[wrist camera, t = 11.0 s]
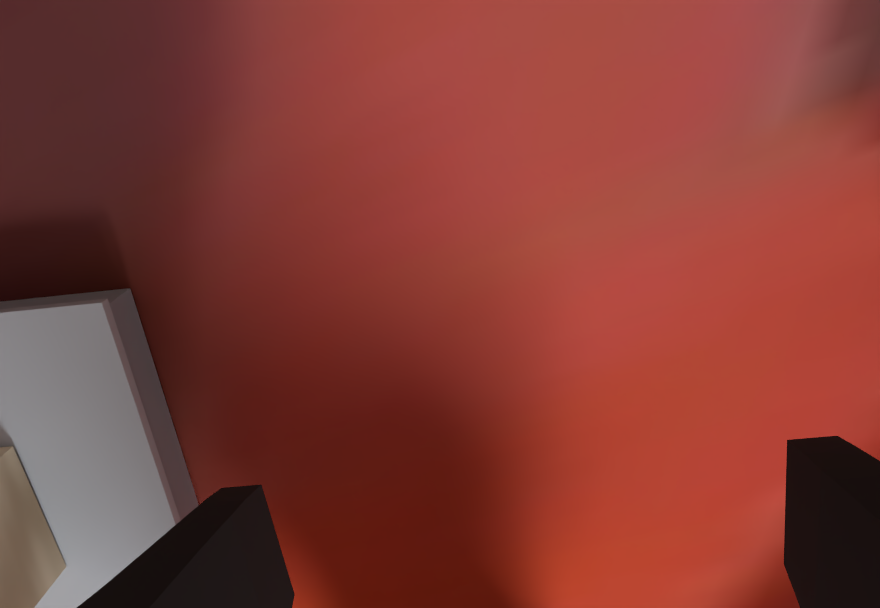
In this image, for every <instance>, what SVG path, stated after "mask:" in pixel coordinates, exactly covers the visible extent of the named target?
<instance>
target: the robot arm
mask: <svg viewBox="0 0 880 608" xmlns="http://www.w3.org/2000/svg"><path fill="white" fill-rule="evenodd" d="M784 565H785V568H786V571H787V573H788V576H789V579H790V581H791V584H792V587H793V589H794V592H795V595H796V597H797V600H798V603H799V605H800V608H880V461H879V460H877V459H875V458H874V457H872V456H871V455H869V454H867V453H866V452H864V451H862V450H861V449H859V448H857V447H856V446H854V445H852V444H851V443H849V442H847V441H845V440H844V439H842V438H840V437H838V436H830V437H818V438H806V439H794V440H787V469H786V506H785V543H784ZM293 599H294V591H293V588H292V585H291V581H290V578H289V575H288V572H287V568H286V565H285V562H284V558H283V555H282V552H281V548H280V545H279V542H278V538H277V535H276V532H275V529H274V525H273V522H272V519H271V515H270V512H269V509H268V505H267V502H266V499H265V495H264V492H263V489H262V485H252V486H240V487H229V488H221V489H220V490H218V491H217V492H216V493H214V494H213V495H211V496H210V497H209V498H208V499H206V500H205V501H204V502H202V503H201V504H200V505H199V506H198V507H196V508H195V509H194V510H193V511H191V512H190V513H189V514H188V515H187V516H186V517H184V518H183V519H182V520H181V521H180V522H178V523H177V524H176V525H175V526H174V527H173V528H171V529H170V530H169V531H168V532H167V533H166V534H164V535H163V536H162V537H161V538H160V539H159V540H157V541H156V542H155V543H154V544H153V545H152V546H150V547H149V548H148V549H147V550H146V551H144V552H143V553H142V554H141V555H140V556H139V557H137V558H136V559H135V560H134V561H133V562H131V563H130V564H129V565H128V566H127V567H126V568H124V569H123V570H122V571H121V572H120V573H118V574H117V575H116V576H115V577H114V578H113V579H111V580H110V581H109V582H108V583H107V584H105V585H104V586H103V587H102V588H101V589H99V590H98V591H97V592H96V593H94V594H93V595H92V596H91V597H89V598H88V599H87V600H86V601H84V602H83V603H82V604H81V605H79V606H78V607H77V608H292V604H293Z"/></svg>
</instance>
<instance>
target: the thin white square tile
mask: <svg viewBox="0 0 880 608" xmlns="http://www.w3.org/2000/svg"><path fill="white" fill-rule="evenodd" d="M10 446H13V448H14V450H15V452H16V455H17V457H18V459H19V461H20V463H21V466H22V468H23V470H24V472H25V475H26V477H27V479H28V481H29V484H30V486H31V488H32V490H33V493H34V495H35V497H36V499H37V502H38V504H39V506H40V508H41V511H42V513H43V515H44V517H45V520H46V522H47V524H48V526H49V529H50V531H51V533H52V535H53V538H54V540H55V542H56V544H57V547H58V549H59V551H60V553H61V555H62V558H63V560H64V562H65V564H66V568H65V569H64V570H63V572H62V573H61V574H60V575H59V577H58V578H57V579H56V581H55V582H54V583H53V584H52V586H51V587H50V588H49V589H48V591H47V592H46V593H45V595H44V596H43V597H42V598H41V600H40V601H39V602H38V604H37V605H36V606H35V607H34V608H77V607H78V606H79V605H81V604H82V603H83V602H84V601H86V600H87V599H88V598H89V597H91V596H92V595H93V594H94V593H96V592H97V591H98V590H99V589H101V588H102V587H103V586H104V585H105V584H107V583H108V582H109V581H110V580H111V579H113V578H114V577H115V576H116V575H117V574H118V573H120V572H121V571H122V570H123V569H124V568H126V567H127V566H128V565H129V564H130V563H131V562H133V561H134V560H135V559H136V558H137V557H139V556H140V555H141V554H142V553H143V552H144V551H146V550H147V549H148V548H149V547H150V546H152V545H153V544H154V543H155V542H156V541H157V540H159V539H160V538H161V537H162V536H163V535H164V534H166V533H167V532H168V531H169V530H170V529H171V528H173V527H174V526H175V525H176V524H177V523H178V522H180V521H181V520H182V519H183V518H184V517H186V516H187V515H188V514H189V513H190V512H191V511H193V510H194V509H195V508H196V507H198V506H199V504H198V501H197V498H196V495H195V492H194V488H193V485H192V482H191V479H190V476H189V473H188V469H187V466H186V463H185V460H184V457H183V454H182V450H181V447H180V444H179V441H178V438H177V435H176V431H175V428H174V425H173V422H172V419H171V416H170V413H169V409H168V406H167V403H166V400H165V397H164V394H163V390H162V387H161V384H160V381H159V378H158V375H157V371H156V368H155V365H154V362H153V359H152V356H151V352H150V349H149V346H148V343H147V340H146V337H145V333H144V330H143V327H142V324H141V321H140V318H139V314H138V311H137V308H136V305H135V302H134V299H133V296H132V292H131V289H130V288H127V289H118V290H108V291H98V292H89V293H79V294H70V295H60V296H50V297H41V298H31V299H21V300H12V301H2V302H0V447H10Z"/></svg>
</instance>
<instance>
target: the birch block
mask: <svg viewBox="0 0 880 608" xmlns="http://www.w3.org/2000/svg"><path fill="white" fill-rule="evenodd" d="M65 568H66V564H65V562H64V560H63V558H62V555H61V553H60V551H59V549H58V547H57V544H56V542H55V540H54V538H53V535H52V533H51V531H50V529H49V526H48V524H47V522H46V520H45V517H44V515H43V513H42V511H41V508H40V506H39V504H38V502H37V499H36V497H35V495H34V493H33V490H32V488H31V486H30V484H29V481H28V479H27V477H26V475H25V472H24V470H23V468H22V466H21V463H20V461H19V459H18V457H17V455H16V452H15V450H14V448H13V446H10V447H0V608H34V607H35V606H36V605H37V604H38V602H39V601H40V600H41V598H42V597H43V596H44V595H45V593H46V592H47V591H48V589H49V588H50V587H51V586H52V584H53V583H54V582H55V581H56V579H57V578H58V577H59V575H60V574H61V573H62V572H63V570H64V569H65Z"/></svg>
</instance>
